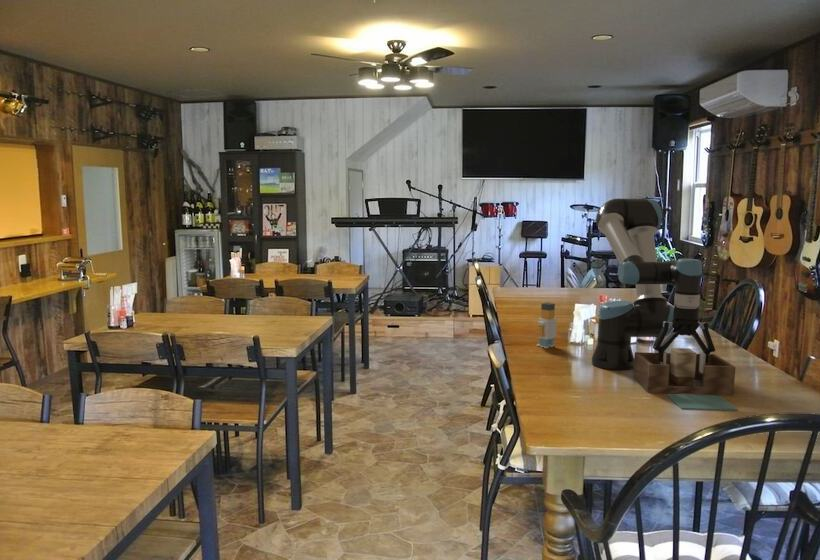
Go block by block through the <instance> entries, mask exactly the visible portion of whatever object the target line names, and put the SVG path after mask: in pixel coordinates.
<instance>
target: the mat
mask: <svg viewBox="0 0 820 560" xmlns="http://www.w3.org/2000/svg"><path fill="white" fill-rule="evenodd" d="M666 396H667V397H668V398H669V399H670V400H671V401H672V402H673V403H674V404H675V405H677V406H678V407H679V409H681V410H695V409H700V410H701V411H703V410H704V411H731V410H732V411H733V412H734V411H735V412H737V411H738V408H737V407H735V406H734V405H733V404H731V403H730V402H729V401H727V400H726V399H725V398H723V397H722V396H721V395H716V394H680V393H666Z"/></svg>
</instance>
